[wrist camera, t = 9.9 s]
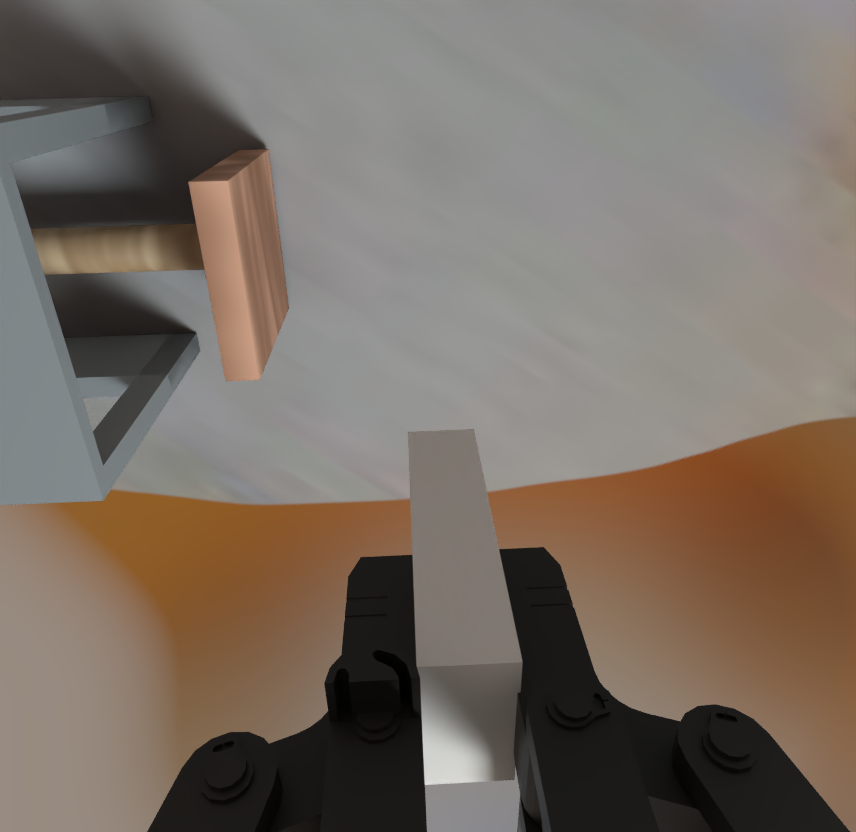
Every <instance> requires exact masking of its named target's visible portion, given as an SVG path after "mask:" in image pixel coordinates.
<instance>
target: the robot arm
mask: <svg viewBox="0 0 856 832" xmlns="http://www.w3.org/2000/svg"><path fill="white" fill-rule="evenodd" d="M408 444H409V472H410V500H411V527H412V555H401V556H381V557H361V558H360V560H359V561H358V563H357V564H356V566H355V567H354V569H353V570H352V572H351V574H350V575H349V577H348V587H347V602H346V610H345V622H344V633H343V645H342V655H341V656H340V657H339V658H338V660H336V662H335V663H334V664H333V665H332V666H331V667H330V669H329V672H328V675H327V677H326V680H325V690H326V697H327V705H328V712H327V713H326V714H325V715H324V716H323V718H322V719H321V720H319V721H318V722H316V723H315V724H314V725H313V726H311V727H310V728H308V729H306V730H304V731H301V732H300V733H297V734H295V735H292V736H289V737H287V738H284V739H281V740H278V741H276V742H273V743H270V744H268V742H267V741H266V740H265V739H264V738H262V737H260V736H257V735H255V734H252V733H250V732H230V733H227V734H224V735H221V736H219V737H216V738H213V739H211V740H210V741H208V742H207V743H205V744H204V745H203V746H201V747H200V748H198V749H197V750H196V751H195V752H194V753H193V754H192V756H191V757H190V758H189V760H188V761H187V762H186V763H185V765H184V766H183V767H182V769H181V771H180V773H179V775H178V776H177V778H176V780H175V782H174V784H173V786H172V788H171V789H170V791H169V793H168V795H167V797H166V798H165V800H164V802H163V804H162V806H161V808H160V809H159V812H158V813H157V815H156V817H155V819H154V821H153V822H152V824H151V826H150V828H149V830H148V832H427V826H426V803H425V785H430V784H448V783H466V782H483V781H501V780H514V777H515V765H516V771H517V777H518V783H519V789H520V805H519V817H518V829H517V832H850V831H849V830H848V829H847V828H846V826H845V825H844V824H843V823H842V822H841V820H840V819H839V818H838V817H837V816H836V814H835V813H834V812H833V811H832V809H831V808H830V807H829V806H828V805H827V803H826V802H825V801H824V800H823V799H822V797H821V796H820V795H819V794H818V792H817V791H816V790H815V789H814V788H813V786H812V785H811V784H810V783H809V782H808V780H807V779H806V778H805V777H804V776H803V774H802V773H801V772H800V771H799V769H798V768H797V767H796V766H795V765H794V763H793V762H792V761H791V760H790V758H788V756H787V755H786V754H785V752H784V751H783V750H782V749H781V748H780V747H779V745H778V744H777V743H776V741H775V740H774V739H773V738H772V737H771V736H770V734H769V733H768V732H767V731H766V730H765V729H763V728H762V727H761V726H760V725H759V724H758V723H757V722H756V721H755V720H754V719H752V718H750V717H749V716H747V715H745V714H743V713H741V712H739V711H737V710H736V709H733V708H728V707H724V706H720V705H705V706H697V707H696V708H694V709H692V710H690V711H689V712H687V713H685V715H684V717H683V718H682V720H681V722H680V721H676V720H672V719H667V718H663V717H659V716H655V715H650V714H647V713H643V712H641V711H638V710H635V709H632V708H630V707H628V706H626V705H625V704H623V703H621V702H619V701H618V700H617V699H615V698H614V697H613V696H612V695H611V694H610V693H609V691H608V690H606V689H605V688H604V687H603V686H602V684H601V683H600V682H599V680H598V678H597V676H596V674H595V671H594V668H593V665H592V662H591V659H590V656H589V653H588V650H587V647H586V643H585V641H584V637H583V634H582V631H581V628H580V625H579V622H578V619H577V616H576V612H575V609H574V608H573V605H572V604H573V603H572V600H571V597H570V594H569V591H568V590H567V585H566V581H565V579H564V575H563V572H562V569H561V566H560V564H559V563H558V562H557V561H556V560H555V559H554V558H553V557H552V556H551V555H550V554H549V552H547V550H546V549H545V548H544V547H539V548H518V549H499V547H498V542H497V538H496V533H495V528H494V524H493V519H492V514H491V509H490V504H489V500H488V496H487V490H486V485H485V481H484V476H483V471H482V466H481V461H480V457H479V452H478V447H477V442H476V438H475V433H474V429H469V430H444V431H420V432H408Z"/></svg>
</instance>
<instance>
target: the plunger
mask: <svg viewBox="0 0 856 832" xmlns="http://www.w3.org/2000/svg"><path fill="white" fill-rule="evenodd" d="M188 183H189V188H190V193H191V199H192V204H193V210H194V215H195V220H196V224H164V225H132V226H100V227H68V228H36V229H31V233H32V236H33V239H34V242H35V246H36V249H37V252H38V255H39V259H40V262H41V265H42V268H43V272H44V275H51V274H81V273H111V272H141V271H171V270H201V269H205V274H206V279H207V284H208V290H209V295H210V300H211V306H212V311H213V316H214V322H215V327H216V332H217V338H218V343H219V348H220V354H221V359H222V364H223V370H224V375H225V380H226V381H240V380H260V378H261V375H262V373H263V370H264V368H265V365H266V363H267V361H268V358H269V356H270V353H271V351H272V348H273V346H274V343H275V341H276V339H277V336H278V334H279V331H280V329H281V326H282V324H283V321H284V319H285V317H286V314H287V312H288V309H289V305H288V297H287V289H286V281H285V274H284V266H283V258H282V250H281V242H280V235H279V227H278V219H277V211H276V203H275V196H274V188H273V180H272V172H271V164H270V157H269V149H256V150H238V151H236V152H235V153H233V154H232V155H230V156H228V157H227V158H225V159H224V160H222V161H221V162H219V163H217V164H216V165H214V166H213V167H211V168H210V169H208V170H206V171H205V172H203V173H202V174H200V175H199V176H197V177H195V178H194V179H192V180H191V181H189V182H188Z"/></svg>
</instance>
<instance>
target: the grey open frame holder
mask: <svg viewBox="0 0 856 832" xmlns="http://www.w3.org/2000/svg"><path fill="white" fill-rule="evenodd" d="M149 122H153V116H152V111H151V106H150V101H149V96H137V97H98V98H59V99H20V100H0V505H13V504H35V503H57V502H81V501H103V500H104V499H105V497H106V496H107V494H108V493H109V491H110V489H111V488H112V486H113V485H114V483H115V482H116V480H117V479H118V477H119V476H120V474H121V472H122V471H123V469H124V468H125V466H126V465H127V463H128V462H129V460H130V459H131V457H132V455H133V454H134V452H135V451H136V449H137V448H138V446H139V445H140V443H141V442H142V440H143V438H144V437H145V435H146V434H147V432H148V431H149V429H150V428H151V426H152V425H153V423H154V421H155V420H156V418H157V417H158V415H159V414H160V412H161V411H162V409H163V408H164V406H165V404H166V403H167V401H168V400H169V398H170V397H171V395H172V394H173V392H174V391H175V389H176V387H177V386H178V384H179V383H180V381H181V380H182V378H183V377H184V375H185V374H186V372H187V370H188V369H189V367H190V366H191V364H192V363H193V361H194V360H195V358H196V357H197V355H198V353H199V352H200V348H199V343H198V338H197V333H182V334H155V335H127V336H99V337H71V338H64V337H63V333H62V330H61V327H60V324H59V320H58V317H57V314H56V311H55V307H54V304H53V301H52V298H51V294H50V291H49V288H48V285H47V281H46V278H45V275H44V272H43V268H42V265H41V262H40V259H39V255H38V252H37V249H36V246H35V242H34V239H33V236H32V233H31V229H30V226H29V223H28V220H27V216H26V213H25V210H24V207H23V203H22V200H21V197H20V194H19V190H18V187H17V184H16V181H15V177H14V174H13V171H12V168H11V164H10V163H12V162H15V161H19V160H22V159H25V158H29V157H32V156H36V155H39V154H43V153H46V152H50V151H53V150H56V149H60V148H63V147H67V146H70V145H74V144H77V143H81V142H84V141H87V140H91V139H94V138H98V137H101V136H105V135H108V134H112V133H115V132H118V131H122V130H125V129H129V128H132V127H136V126H139V125H143V124H146V123H149ZM115 396H121V397H120V398H119V399H118V401H117V402H116V403H115V405H114V406H113V407H112V408H111V410H110V411H109V412H108V413H107V415H106V416H105V417H104V418H103V420H102V421H101V422H100V423H99V425H98V426H97V427H96V429H95V430H94V431H92V428H91V424H90V421H89V418H88V415H87V411H86V408H85V405H84V402H83V398H89V397H115Z"/></svg>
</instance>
